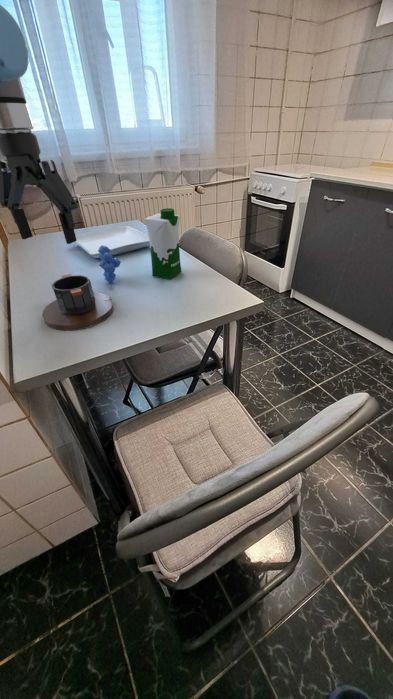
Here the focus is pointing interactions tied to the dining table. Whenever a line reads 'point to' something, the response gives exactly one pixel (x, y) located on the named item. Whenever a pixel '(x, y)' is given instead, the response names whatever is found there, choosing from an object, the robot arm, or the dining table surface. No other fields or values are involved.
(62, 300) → the cooking pot
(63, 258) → the dining table surface
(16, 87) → the robot arm
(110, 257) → the grapes
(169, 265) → the milk carton
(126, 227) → the square plate
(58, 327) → the turntable
